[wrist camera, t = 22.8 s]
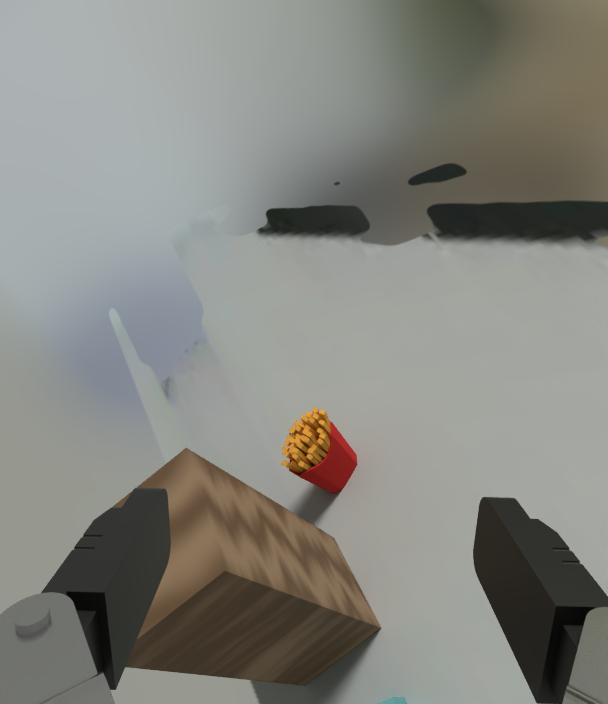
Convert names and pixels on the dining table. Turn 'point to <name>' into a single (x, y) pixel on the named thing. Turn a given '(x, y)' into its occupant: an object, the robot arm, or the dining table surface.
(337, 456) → the french fries
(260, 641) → the wooden block
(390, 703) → the batten
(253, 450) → the dining table surface
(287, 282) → the dining table surface
